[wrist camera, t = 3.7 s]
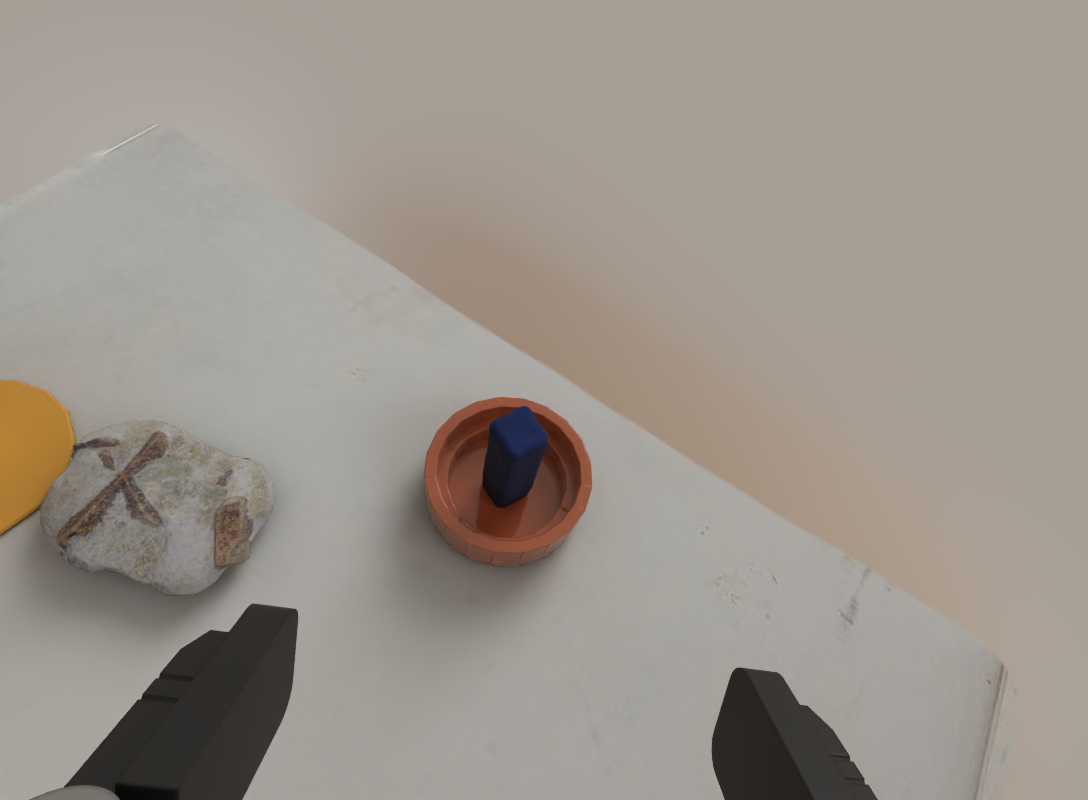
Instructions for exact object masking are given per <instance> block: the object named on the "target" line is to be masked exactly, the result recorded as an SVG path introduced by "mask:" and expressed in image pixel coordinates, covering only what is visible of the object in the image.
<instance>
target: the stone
mask: <svg viewBox="0 0 1088 800" xmlns="http://www.w3.org/2000/svg"><path fill="white" fill-rule="evenodd" d="M73 449H74V452H73V454H72V458H73V460H72V462H71V463H70V465H69V466H68V467H67V469H66V470H65V471H64V472H63V473H62V474H61V475H60V476H59V477H58V478H56V479H55V480H54V481H53V483H52V484H51V486H50V488H49V489H48V493H47V496H46V497H45V498H44V500H43V502H42V504H41V507H40V515H41V517H40V522H41V526H42V529H43V531H44V534H45V536H46V538H47V539H48V540H49V542H50V543H51V544H52V545H53V547H54V548H55V550H56V552H57V553H58V554H59V555H60V556H62V557H63V558H64V559H66V560H67V561H68V562H69V563H70V564H71V565H73V566H75V567H77V568H80V569H83V570H85V571H86V572H87V571H88V572H94V573H95V572H98V571H104V570H109V571H113V572H117V573H120V574H123V575H125V576H127V577H128V578H130V579H132V580H134V581H136V582H137V583H142V584H145V585H147V586H150V587H154V588H156V589H157V590H159V591H160V592H162V593H163V594H165V595H170V596H181V595H190V594H196V593H199V592H201V591H202V590H204V589H206V588H207V587H209V586H210V585H211V584H213V583H214V582H216V581H217V579H218V578H219V577H220V576H221V574H222V573H223V572H224V570H225V569H227V568H228V567H230V566H233V565H237V564H240V563H243V562H244V561H246V560H247V559H248V558H249V557H250V544H251V542H252V540H253V538H254V537H255V535H256V534H257V532H258V531H259V530H260V528H261V527H262V526H263V525H264V523H265V522H266V521H267V519H268V517H269V515H270V513H271V511H272V509H273V507H274V505H275V492H274V485H273V482H272V479H271V478H270V476H269V474H268V472H267V470H266V469H265V468H264V467H263V466H262V465H260V464H258V463H257V462H254V461H251V460H250V459H249V458H243V459H241V458H236V457H233V456H230V455H228V454H225V453H224V452H222V451H221V450H218V449H217V448H214V447H212V446H209V445H206V444H204V443H203V442H201V441H199V440H198V439H196V438H194V437H192V436H191V435H189V434H187V433H186V432H184V431H182V430H180V429H178V428H176V427H174V426H172V425H170V424H167V423H164V422H158V421H133V422H127V423H122V424H118V425H113V426H108V427H106V428H103V429H100V430H98V431H95V432H93V433H91V434H89V435H87V436H85V437H84V438H83V439H82V440H81V442H80V443H76V444H73Z"/></svg>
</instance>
